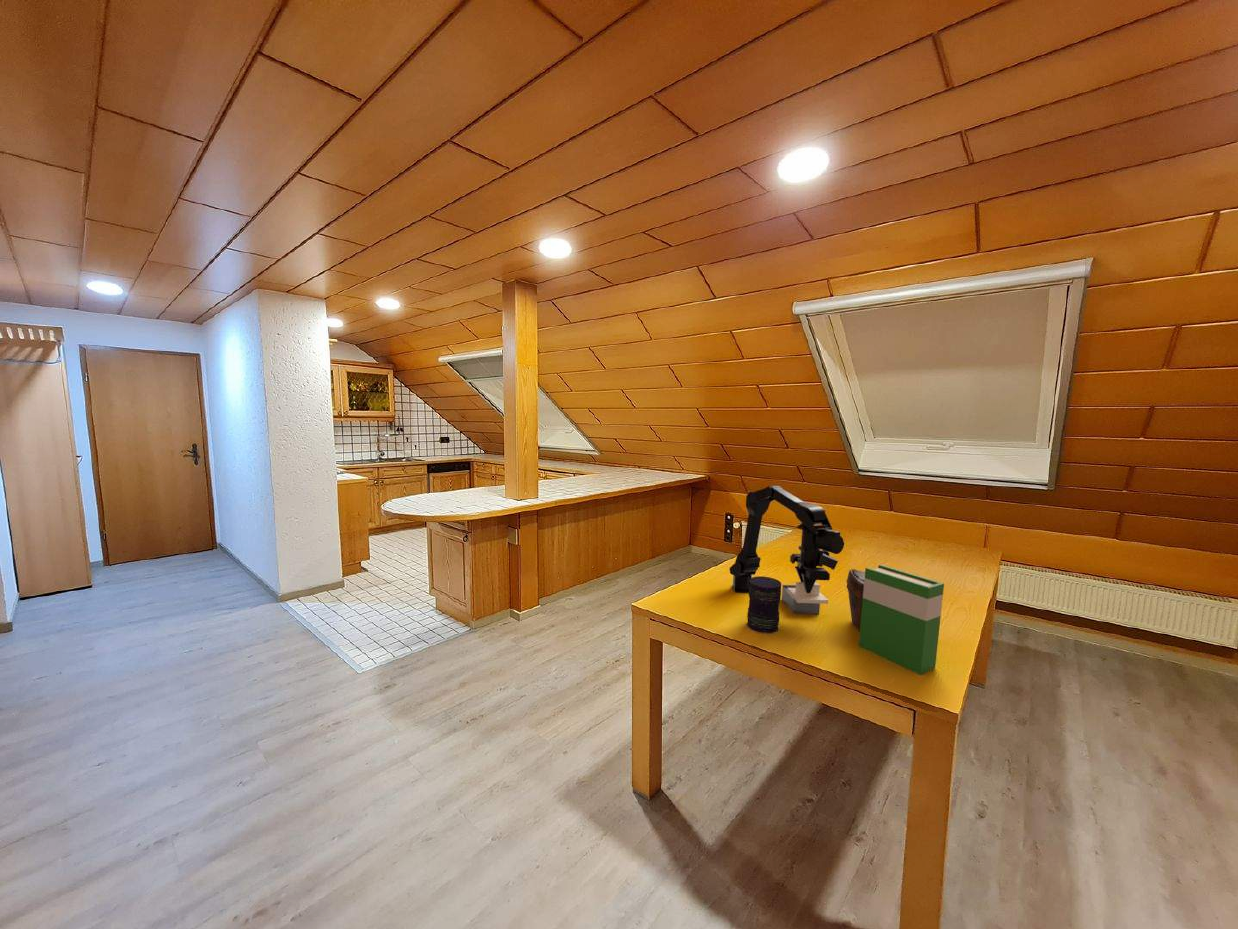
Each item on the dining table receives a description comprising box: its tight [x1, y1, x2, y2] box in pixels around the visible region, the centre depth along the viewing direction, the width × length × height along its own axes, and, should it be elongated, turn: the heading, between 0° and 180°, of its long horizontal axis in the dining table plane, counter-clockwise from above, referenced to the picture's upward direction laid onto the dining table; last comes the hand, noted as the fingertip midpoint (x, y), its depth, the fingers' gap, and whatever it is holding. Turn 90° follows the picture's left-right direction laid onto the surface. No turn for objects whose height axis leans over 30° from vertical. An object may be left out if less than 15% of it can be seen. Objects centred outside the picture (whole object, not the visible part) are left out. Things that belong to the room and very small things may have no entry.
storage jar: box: [746, 575, 782, 634], centre depth 154 cm, size 10×10×15 cm
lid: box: [787, 581, 829, 605], centre depth 158 cm, size 10×10×5 cm
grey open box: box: [781, 584, 821, 615], centre depth 172 cm, size 9×12×6 cm
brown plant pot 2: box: [846, 568, 865, 630], centre depth 156 cm, size 18×20×18 cm
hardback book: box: [858, 564, 945, 676], centre depth 137 cm, size 18×7×24 cm, turn 30°
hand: (806, 591), depth 158 cm, fingers closed on lid
